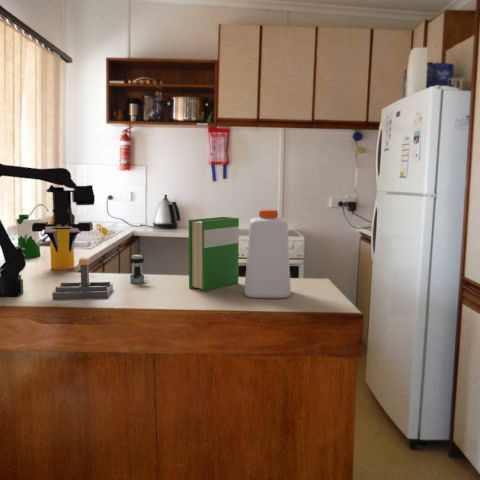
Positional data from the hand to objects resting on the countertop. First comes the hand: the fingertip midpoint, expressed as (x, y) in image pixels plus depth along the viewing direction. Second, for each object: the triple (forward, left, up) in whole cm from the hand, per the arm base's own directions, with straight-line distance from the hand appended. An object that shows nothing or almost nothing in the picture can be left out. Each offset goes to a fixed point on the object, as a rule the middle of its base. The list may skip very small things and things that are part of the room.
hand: (63, 251), depth 170 cm
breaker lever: (+8, -7, -11) cm, 15 cm away
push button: (+24, +10, -13) cm, 29 cm away
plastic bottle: (+68, -11, -13) cm, 70 cm away
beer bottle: (-10, +40, -13) cm, 43 cm away
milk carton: (-32, +70, -13) cm, 78 cm away
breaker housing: (+7, -7, -13) cm, 17 cm away
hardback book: (+51, +2, -13) cm, 53 cm away
